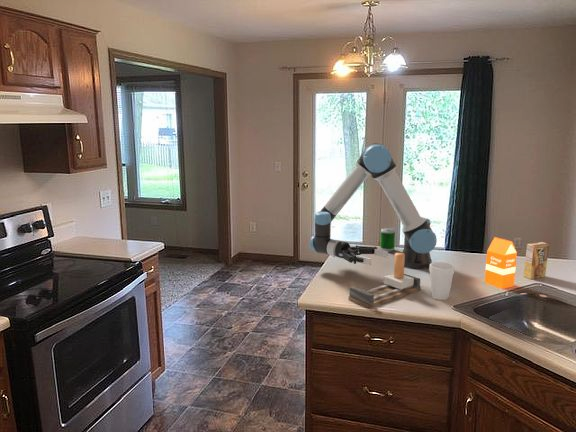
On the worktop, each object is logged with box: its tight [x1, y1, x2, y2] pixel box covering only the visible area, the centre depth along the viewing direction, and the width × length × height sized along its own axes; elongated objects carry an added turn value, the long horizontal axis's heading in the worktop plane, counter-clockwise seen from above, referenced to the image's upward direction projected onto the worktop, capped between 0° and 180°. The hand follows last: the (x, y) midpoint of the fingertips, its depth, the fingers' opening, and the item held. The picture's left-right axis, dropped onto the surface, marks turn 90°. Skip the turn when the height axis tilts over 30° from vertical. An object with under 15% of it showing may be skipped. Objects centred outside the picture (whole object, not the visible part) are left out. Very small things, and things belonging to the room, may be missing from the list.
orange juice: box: [484, 236, 518, 290], centre depth 196 cm, size 8×9×20 cm
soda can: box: [379, 227, 396, 253], centre depth 250 cm, size 8×8×12 cm
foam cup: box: [428, 261, 455, 301], centre depth 184 cm, size 10×9×13 cm
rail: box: [348, 273, 422, 309], centre depth 187 cm, size 31×11×5 cm, turn 127°
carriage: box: [383, 252, 414, 289], centre depth 190 cm, size 8×9×13 cm
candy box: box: [523, 241, 550, 280], centre depth 205 cm, size 9×4×15 cm, turn 110°
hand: (379, 258), depth 196 cm, fingers open, 13 cm apart
